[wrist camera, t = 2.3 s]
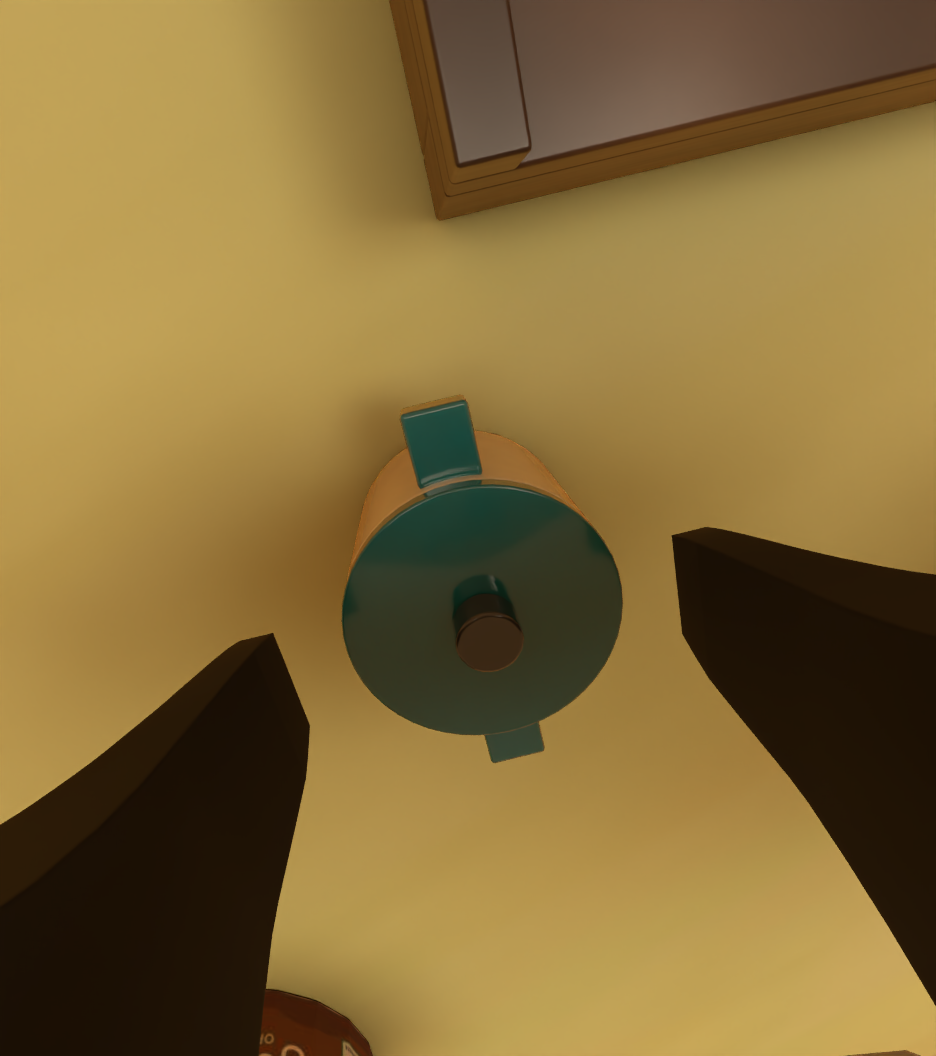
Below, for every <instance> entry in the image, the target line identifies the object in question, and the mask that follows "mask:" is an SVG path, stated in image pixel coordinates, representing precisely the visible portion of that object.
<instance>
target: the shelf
mask: <svg viewBox="0 0 936 1056" xmlns="http://www.w3.org/2000/svg"><path fill="white" fill-rule="evenodd" d="M389 2H390V7H391V11H392V16H393V20H394V25H395V30H396V34H397V39H398V43H399V48H400V53H401V57H402V62H403V66H404V71H405V76H406V80H407V85H408V89H409V94H410V99H411V103H412V108H413V112H414V117H415V122H416V126H417V131H418V135H419V140H420V145H421V149H422V154H423V155H424V163H425V168H426V172H427V177H428V181H429V186H430V191H431V195H432V200H433V204H434V209H435V214H436V218H437V219H438V220H444V219H448V218H452V217H456V216H461V215H465V214H469V213H473V212H477V211H481V210H486V209H490V208H494V207H498V206H502V205H506V204H510V203H515V202H519V201H523V200H527V199H531V198H535V197H539V196H544V195H548V194H552V193H556V192H560V191H564V190H569V189H573V188H577V187H581V186H585V185H589V184H593V183H598V182H602V181H606V180H610V179H614V178H618V177H622V176H627V175H631V174H635V173H639V172H643V171H647V170H652V169H656V168H660V167H664V166H668V165H672V164H676V163H681V162H685V161H689V160H693V159H697V158H701V157H705V156H710V155H714V154H718V153H722V152H726V151H730V150H735V149H739V148H743V147H747V146H751V145H755V144H759V143H764V142H768V141H772V140H776V139H780V138H784V137H788V136H793V135H797V134H801V133H805V132H809V131H813V130H818V129H822V128H826V127H830V126H834V125H838V124H842V123H847V122H851V121H855V120H859V119H863V118H867V117H871V116H876V115H880V114H884V113H888V112H892V111H896V110H900V109H905V108H909V107H913V106H917V105H921V104H925V103H930V102H934V101H936V0H389Z"/></svg>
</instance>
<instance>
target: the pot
mask: <svg viewBox="0 0 936 1056" xmlns="http://www.w3.org/2000/svg"><path fill="white" fill-rule="evenodd" d="M400 422H401V426H402V429H403V433H404V437H405V441H406V444H407V448H406V449H404V450H403V451H401V452H400V453H399V454H398V455H396V456H395V457H394V458H393V459H392V460H390V462H389V463H388V464H387V465H386V466H385V467H384V468H383V469H382V470H381V472H380V473H379V475H378V476H377V477H376V479H375V480H374V482H373V484H372V486H371V488H370V490H369V492H368V494H367V496H366V499H365V502H364V505H363V509H362V514H361V518H360V523H359V527H358V532H357V536H356V541H355V545H354V550H353V554H352V559H351V563H350V568H349V572H348V577H347V581H346V586H345V591H344V596H343V601H342V617H341V622H342V631H343V638H344V642H345V646H346V650H347V653H348V655H349V658H350V660H351V662H352V665H353V667H354V669H355V670H356V672H357V674H358V675H359V677H360V679H361V680H362V682H363V683H364V684H365V685H366V687H367V688H368V689H369V690H370V691H371V693H372V694H373V695H374V696H375V697H376V698H377V699H379V700H380V701H381V702H382V703H383V704H384V705H385V706H387V707H388V708H389V709H391V710H392V711H394V712H395V713H397V714H398V715H400V716H402V717H403V718H405V719H407V720H409V721H411V722H413V723H416V724H418V725H421V726H423V727H426V728H429V729H433V730H437V731H441V732H445V733H452V734H459V735H484V736H485V740H486V744H487V747H488V751H489V755H490V759H491V761H492V762H493V763H497V762H501V761H505V760H510V759H514V758H518V757H522V756H526V755H530V754H534V753H538V752H542V751H544V743H543V738H542V734H541V729H540V725H539V721H541V720H543V719H545V718H547V717H549V716H551V715H553V714H554V713H556V712H558V711H559V710H561V709H562V708H564V707H565V706H567V705H568V704H569V703H571V702H572V701H573V700H574V699H576V698H577V697H578V696H579V695H580V694H581V693H582V692H583V691H585V689H586V688H587V687H588V686H589V685H590V684H591V683H592V682H593V680H594V679H595V678H596V677H597V675H598V674H599V673H600V671H601V670H602V668H603V667H604V665H605V664H606V662H607V660H608V658H609V656H610V654H611V652H612V650H613V647H614V645H615V642H616V639H617V637H618V633H619V628H620V624H621V619H622V607H623V598H622V585H621V581H620V576H619V572H618V569H617V566H616V564H615V561H614V558H613V556H612V554H611V552H610V550H609V548H608V547H607V545H606V543H605V541H604V540H603V539H602V537H601V536H600V535H599V534H598V532H597V531H596V530H595V528H594V527H593V526H592V525H591V523H590V522H589V521H588V520H587V518H586V517H585V516H584V515H583V513H582V512H581V511H580V510H579V508H578V507H577V506H576V505H575V503H574V502H573V501H572V500H571V498H570V497H569V496H568V495H567V493H566V492H565V491H564V490H563V488H562V487H561V486H560V485H559V483H558V482H557V481H556V480H555V478H554V477H553V476H552V475H551V473H550V472H549V471H548V470H547V468H546V467H545V466H544V464H543V463H542V462H541V461H540V460H539V459H538V458H537V457H536V456H535V455H533V454H532V453H531V452H530V451H528V450H527V449H525V448H524V447H523V446H521V445H519V444H517V443H516V442H514V441H512V440H510V439H507V438H505V437H502V436H499V435H496V434H492V433H487V432H483V431H474V429H473V424H472V420H471V415H470V411H469V406H468V403H467V401H466V399H465V397H464V396H463V395H456V396H452V397H448V398H444V399H439V400H435V401H431V402H427V403H423V404H419V405H415V406H411V407H406V408H403V409H402V410H401V413H400Z"/></svg>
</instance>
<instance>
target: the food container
mask: <svg viewBox="0 0 936 1056" xmlns="http://www.w3.org/2000/svg"><path fill="white" fill-rule="evenodd" d="M259 1056H373V1055H372V1052H371V1049H370V1046H369V1043H368V1042H367V1040H366V1039H365V1038H364V1037H363V1036H362V1035H361V1033H360V1032H359V1031H358V1030H357V1029H356V1028H355V1026H354V1025H353V1024H352V1023H351V1022H350V1021H349V1020H348V1019H347V1018H345V1017H343V1016H341V1015H340V1014H338V1013H336V1012H335V1011H333V1010H331V1009H329V1008H328V1007H326V1006H324V1005H322V1004H321V1003H319V1002H317V1001H313V1000H310V999H306V998H302V997H298V996H295V995H291V994H287V993H284V992H280V991H271V990H265V998H264V1007H263V1017H262V1027H261V1037H260V1047H259Z"/></svg>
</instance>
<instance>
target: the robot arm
mask: <svg viewBox="0 0 936 1056" xmlns="http://www.w3.org/2000/svg"><path fill="white" fill-rule="evenodd" d="M672 542H673V551H674V561H675V570H676V580H677V589H678V599H679V608H680V617H681V627H682V634H683V636H684V638H685V639H686V641H687V643H688V645H689V646H690V648H691V650H692V652H693V653H694V655H695V657H696V658H697V660H698V662H699V663H700V665H701V666H702V668H703V670H704V671H705V673H706V675H707V676H708V678H709V679H710V680H711V682H712V683H713V684H714V685H715V687H716V688H717V689H718V691H719V692H720V693H721V694H722V695H723V697H724V698H725V699H726V700H727V702H728V703H729V704H730V705H731V707H732V708H733V709H734V710H735V712H736V713H737V714H738V715H739V717H740V718H741V719H742V720H743V721H744V723H745V724H746V725H747V726H748V727H749V729H750V730H751V731H752V732H753V734H754V735H755V736H756V737H757V738H758V740H759V741H760V742H761V743H762V745H763V746H764V747H765V748H766V749H767V751H768V752H769V753H770V754H771V756H772V757H773V758H774V759H775V760H776V762H777V763H778V764H779V765H780V767H781V768H782V769H783V770H784V771H785V773H786V774H787V775H788V776H789V778H790V779H791V780H792V782H793V783H794V784H795V786H796V787H797V788H798V790H799V791H800V792H801V794H802V795H803V796H804V798H805V799H806V800H807V802H808V803H809V804H810V806H811V807H812V809H813V810H814V812H815V813H816V815H817V816H818V818H819V819H820V821H821V822H822V824H823V825H824V827H825V829H826V830H827V832H828V833H829V835H830V836H831V838H832V839H833V841H834V842H835V844H836V845H837V847H838V848H839V850H840V851H841V853H842V854H843V856H844V857H845V859H846V860H847V862H848V863H849V865H850V867H851V868H852V870H853V871H854V873H855V875H856V876H857V878H858V879H859V881H860V882H861V884H862V886H863V887H864V889H865V890H866V892H867V894H868V895H869V897H870V898H871V900H872V901H873V903H874V905H875V906H876V908H877V909H878V911H879V913H880V914H881V916H882V917H883V919H884V921H885V922H886V924H887V925H888V927H889V929H890V930H891V932H892V934H893V935H894V937H895V939H896V940H897V942H898V944H899V945H900V947H901V949H902V950H903V952H904V954H905V955H906V957H907V959H908V960H909V962H910V964H911V965H912V967H913V969H914V970H915V972H916V974H917V975H918V977H919V979H920V980H921V982H922V984H923V985H924V987H925V989H926V990H927V992H928V994H929V995H930V997H931V999H932V1000H933V1002H934V1004H935V1005H936V575H934V574H927V573H920V572H912V571H906V570H900V569H894V568H888V567H883V566H878V565H873V564H868V563H863V562H858V561H853V560H848V559H843V558H838V557H834V556H830V555H825V554H821V553H817V552H812V551H808V550H804V549H800V548H796V547H792V546H788V545H784V544H780V543H776V542H772V541H768V540H764V539H761V538H757V537H753V536H749V535H745V534H741V533H736V532H732V531H727V530H723V529H717V528H709V527H704V528H700V529H696V530H692V531H688V532H684V533H680V534H675V535H672ZM309 731H310V725H309V722H308V719H307V717H306V714H305V712H304V709H303V707H302V704H301V702H300V699H299V697H298V694H297V692H296V689H295V687H294V684H293V682H292V679H291V677H290V674H289V672H288V669H287V667H286V664H285V662H284V659H283V657H282V654H281V652H280V649H279V647H278V644H277V642H276V639H275V637H274V634H273V633H271V634H267V635H263V636H259V637H255V638H250V639H246V640H242V641H239V642H237V643H236V644H234V645H233V646H231V647H230V648H228V649H227V650H226V651H224V652H223V653H222V654H221V655H219V656H218V657H217V658H216V659H214V660H213V661H212V662H211V663H210V664H209V665H207V666H206V667H205V668H204V669H203V670H202V671H200V672H199V673H198V674H197V675H196V676H195V677H193V678H192V679H191V680H190V681H189V682H188V683H187V684H185V685H184V686H183V687H182V688H181V689H180V690H178V691H177V692H176V693H175V694H174V695H173V696H172V697H170V698H169V699H168V700H167V701H166V702H165V703H164V704H162V705H161V706H160V707H159V708H158V709H157V710H155V711H154V712H153V713H152V714H151V715H149V716H148V717H147V718H146V719H144V720H143V721H142V722H141V723H140V724H138V725H137V726H136V727H135V728H133V729H132V730H131V731H130V732H129V733H127V734H126V735H125V736H124V737H122V738H121V739H120V740H119V741H117V742H116V743H115V744H114V745H113V746H111V747H110V748H109V749H108V750H106V751H105V752H104V753H103V754H101V755H100V756H99V757H98V758H96V759H95V760H94V761H92V762H91V763H90V764H88V765H87V766H86V767H84V768H83V769H82V770H80V771H79V772H78V773H76V774H75V775H73V776H72V777H71V778H69V779H68V780H67V781H65V782H64V783H62V784H61V785H59V786H58V787H57V788H55V789H54V790H52V791H51V792H49V793H48V794H46V795H45V796H44V797H42V798H41V799H39V800H38V801H36V802H35V803H34V804H32V805H31V806H29V807H28V808H26V809H25V810H23V811H22V812H20V813H19V814H17V815H15V816H14V817H12V818H11V819H9V820H7V821H6V822H4V823H2V824H1V825H0V1056H259V1047H260V1037H261V1027H262V1017H263V1007H264V998H265V990H266V982H267V973H268V965H269V957H270V949H271V940H272V933H273V928H274V922H275V917H276V912H277V906H278V901H279V897H280V892H281V888H282V884H283V879H284V875H285V870H286V866H287V861H288V857H289V853H290V848H291V844H292V839H293V835H294V831H295V826H296V822H297V817H298V813H299V808H300V803H301V799H302V794H303V789H304V785H305V780H306V772H307V761H308V748H309ZM847 1056H920V1055H917V1054H915V1053H912V1052H909V1051H907V1050H903V1051H892V1052H881V1053H870V1054H858V1055H847Z"/></svg>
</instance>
